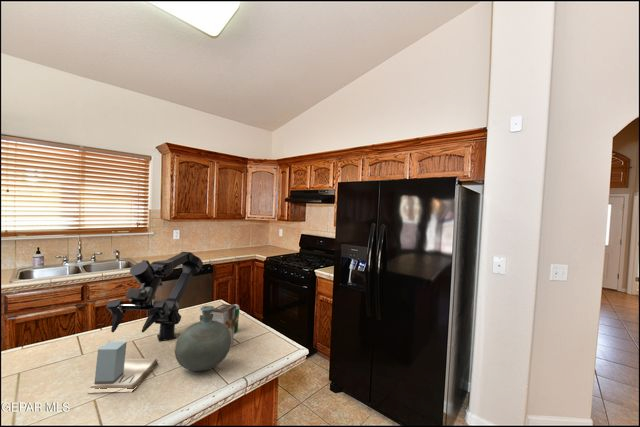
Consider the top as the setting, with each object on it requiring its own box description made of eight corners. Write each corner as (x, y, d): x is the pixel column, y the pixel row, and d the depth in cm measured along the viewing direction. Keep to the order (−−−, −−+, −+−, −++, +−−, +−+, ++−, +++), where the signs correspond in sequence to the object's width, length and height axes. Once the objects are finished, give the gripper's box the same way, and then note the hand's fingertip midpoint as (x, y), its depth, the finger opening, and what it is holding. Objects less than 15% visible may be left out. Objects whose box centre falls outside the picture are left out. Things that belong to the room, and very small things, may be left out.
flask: (184, 359, 94) (190, 299, 94) (231, 362, 94) (237, 302, 95) (167, 379, 82) (174, 310, 83) (220, 382, 83) (227, 314, 83)
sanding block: (105, 374, 80) (109, 341, 80) (123, 373, 80) (126, 341, 81) (94, 384, 75) (97, 349, 75) (113, 383, 75) (116, 349, 76)
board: (120, 364, 89) (121, 358, 89) (157, 363, 91) (157, 357, 91) (87, 393, 73) (88, 386, 74) (132, 392, 75) (133, 385, 75)
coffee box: (220, 340, 111) (223, 303, 112) (233, 342, 110) (236, 305, 111) (207, 350, 102) (210, 309, 103) (221, 353, 101) (224, 311, 102)
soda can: (226, 329, 122) (228, 304, 123) (237, 328, 124) (239, 303, 125) (226, 334, 118) (229, 307, 118) (238, 333, 120) (240, 307, 120)
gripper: (112, 277, 90) (85, 320, 79) (169, 279, 93) (150, 321, 81) (123, 293, 98) (100, 335, 86) (175, 295, 100) (159, 335, 89)
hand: (127, 332), depth 85 cm, fingers open, 9 cm apart
